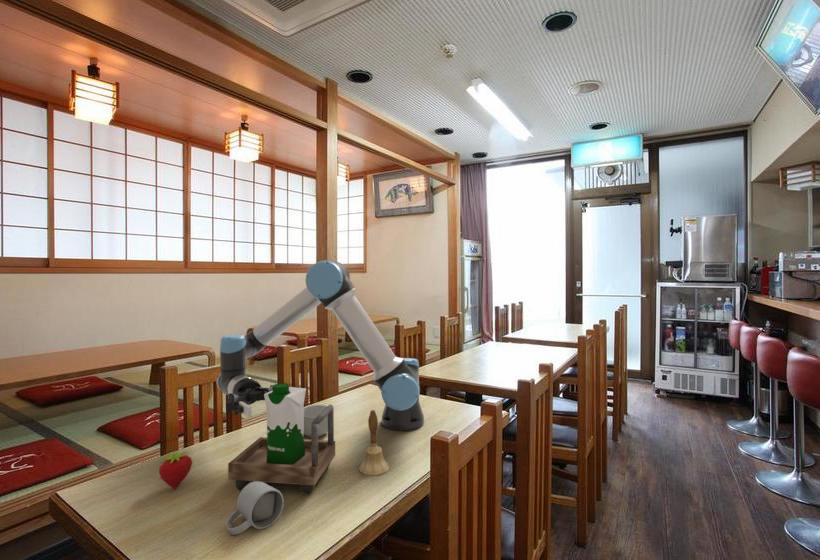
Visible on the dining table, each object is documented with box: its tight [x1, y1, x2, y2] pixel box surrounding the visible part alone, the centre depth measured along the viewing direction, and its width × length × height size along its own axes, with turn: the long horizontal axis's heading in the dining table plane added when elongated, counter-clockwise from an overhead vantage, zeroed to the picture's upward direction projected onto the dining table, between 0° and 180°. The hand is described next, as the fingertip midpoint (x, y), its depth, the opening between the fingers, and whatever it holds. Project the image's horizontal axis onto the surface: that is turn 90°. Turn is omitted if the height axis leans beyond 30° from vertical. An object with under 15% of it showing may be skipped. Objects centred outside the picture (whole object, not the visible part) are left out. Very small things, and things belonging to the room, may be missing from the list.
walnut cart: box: [227, 404, 336, 495], centre depth 106 cm, size 22×16×18 cm
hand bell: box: [358, 409, 390, 477], centre depth 111 cm, size 8×8×16 cm
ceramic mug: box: [225, 481, 285, 536], centre depth 87 cm, size 11×8×8 cm
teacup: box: [304, 404, 328, 438], centre depth 135 cm, size 14×11×8 cm
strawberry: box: [158, 449, 193, 489], centre depth 101 cm, size 6×8×10 cm
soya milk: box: [264, 382, 307, 465], centre depth 106 cm, size 9×9×20 cm
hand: (275, 406), depth 109 cm, fingers open, 13 cm apart
